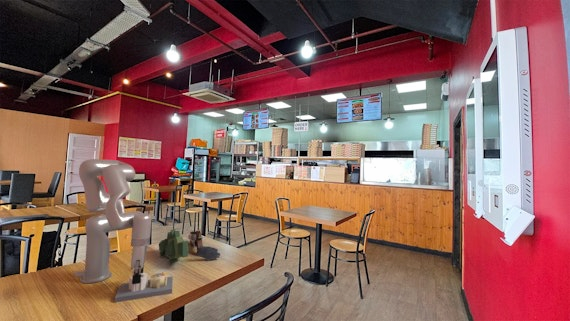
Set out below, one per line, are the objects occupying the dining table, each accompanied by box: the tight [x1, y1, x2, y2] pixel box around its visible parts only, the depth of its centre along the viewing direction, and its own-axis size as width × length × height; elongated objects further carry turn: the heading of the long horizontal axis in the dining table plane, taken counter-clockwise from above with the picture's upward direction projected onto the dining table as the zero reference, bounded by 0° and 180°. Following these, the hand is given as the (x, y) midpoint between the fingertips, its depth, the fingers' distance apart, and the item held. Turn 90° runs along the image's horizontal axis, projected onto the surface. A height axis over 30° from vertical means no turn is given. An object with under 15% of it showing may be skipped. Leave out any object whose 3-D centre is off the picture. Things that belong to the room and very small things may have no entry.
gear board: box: [114, 271, 174, 303], centre depth 112 cm, size 22×13×8 cm, turn 115°
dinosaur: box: [158, 229, 190, 263], centre depth 148 cm, size 35×12×19 cm, turn 42°
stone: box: [195, 245, 221, 262], centre depth 149 cm, size 14×6×10 cm, turn 130°
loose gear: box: [128, 272, 149, 292], centre depth 111 cm, size 7×7×5 cm
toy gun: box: [187, 230, 204, 253], centre depth 169 cm, size 5×28×15 cm, turn 33°
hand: (137, 278), depth 111 cm, fingers open, 9 cm apart
